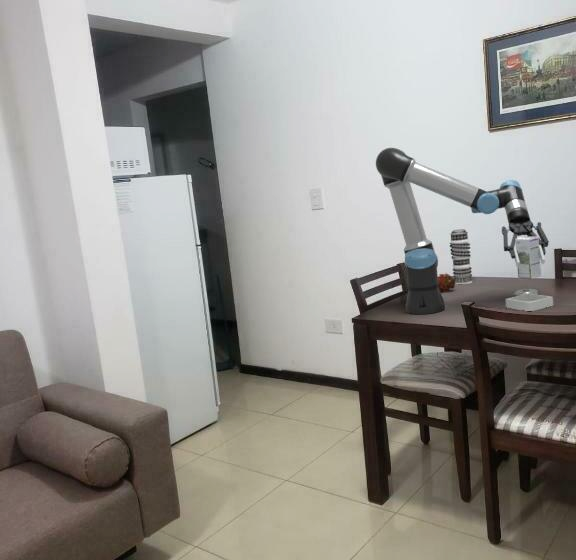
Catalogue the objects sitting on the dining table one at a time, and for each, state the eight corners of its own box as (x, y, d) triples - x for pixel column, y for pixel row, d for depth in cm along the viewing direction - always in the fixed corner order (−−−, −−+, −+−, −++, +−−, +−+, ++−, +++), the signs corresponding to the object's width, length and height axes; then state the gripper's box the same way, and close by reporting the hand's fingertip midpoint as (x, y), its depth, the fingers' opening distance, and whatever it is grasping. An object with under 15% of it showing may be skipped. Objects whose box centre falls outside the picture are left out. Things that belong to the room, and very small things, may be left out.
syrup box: (541, 276, 199) (539, 235, 197) (531, 279, 196) (528, 238, 194) (528, 275, 204) (525, 235, 202) (517, 278, 201) (514, 238, 199)
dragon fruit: (456, 295, 244) (433, 298, 253) (462, 281, 248) (439, 284, 257) (446, 282, 240) (423, 285, 250) (452, 268, 245) (430, 271, 254)
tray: (529, 311, 195) (529, 302, 194) (506, 307, 205) (505, 299, 204) (553, 305, 199) (552, 296, 198) (528, 301, 209) (528, 293, 208)
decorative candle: (449, 284, 262) (444, 231, 259) (459, 280, 268) (455, 229, 265) (466, 285, 256) (462, 230, 252) (477, 281, 262) (472, 228, 258)
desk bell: (526, 301, 210) (526, 292, 210) (507, 298, 220) (506, 290, 219) (546, 296, 214) (545, 288, 214) (526, 293, 223) (525, 285, 223)
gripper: (545, 217, 210) (560, 266, 197) (488, 224, 214) (499, 272, 201) (548, 204, 204) (563, 253, 191) (489, 211, 208) (500, 260, 195)
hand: (530, 263), depth 196 cm, fingers closed on syrup box, 8 cm apart
